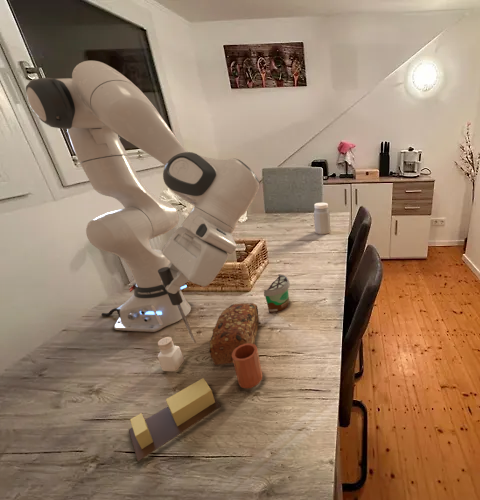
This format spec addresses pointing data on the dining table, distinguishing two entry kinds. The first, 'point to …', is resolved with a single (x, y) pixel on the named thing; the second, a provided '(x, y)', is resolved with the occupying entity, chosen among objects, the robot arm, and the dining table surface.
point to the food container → (278, 294)
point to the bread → (233, 331)
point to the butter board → (166, 428)
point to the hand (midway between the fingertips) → (167, 288)
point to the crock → (247, 365)
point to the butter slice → (141, 431)
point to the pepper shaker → (169, 355)
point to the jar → (321, 218)
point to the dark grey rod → (174, 295)
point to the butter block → (190, 401)
